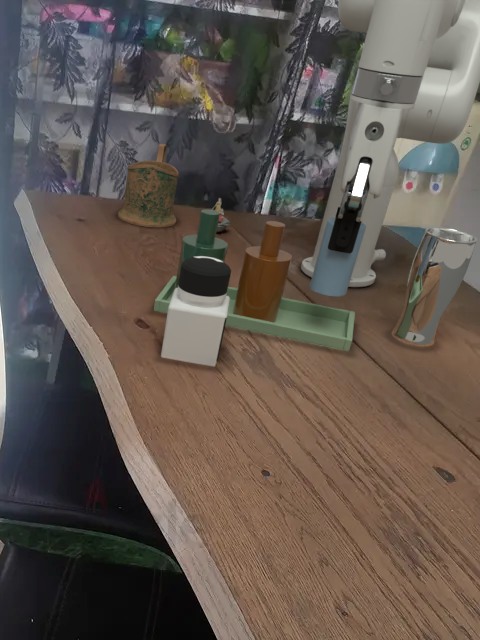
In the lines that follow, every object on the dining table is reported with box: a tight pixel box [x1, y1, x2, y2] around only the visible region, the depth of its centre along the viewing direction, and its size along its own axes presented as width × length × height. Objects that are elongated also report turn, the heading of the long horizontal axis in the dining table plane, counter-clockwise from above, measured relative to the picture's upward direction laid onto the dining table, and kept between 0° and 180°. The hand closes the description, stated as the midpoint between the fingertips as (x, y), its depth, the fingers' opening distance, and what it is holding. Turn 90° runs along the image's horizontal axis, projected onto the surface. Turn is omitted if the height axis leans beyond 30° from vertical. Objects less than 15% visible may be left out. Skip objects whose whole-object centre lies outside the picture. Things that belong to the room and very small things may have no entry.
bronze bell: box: [117, 143, 179, 228], centre depth 144 cm, size 12×18×12 cm, turn 167°
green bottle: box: [175, 208, 229, 289], centre depth 105 cm, size 6×6×13 cm
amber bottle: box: [233, 220, 293, 322], centre depth 103 cm, size 6×6×13 cm
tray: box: [153, 275, 356, 352], centre depth 107 cm, size 28×12×2 cm, turn 72°
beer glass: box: [391, 226, 478, 347], centre depth 102 cm, size 7×7×15 cm
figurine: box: [211, 197, 231, 233], centre depth 140 cm, size 5×4×6 cm
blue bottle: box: [309, 210, 366, 298], centre depth 98 cm, size 5×5×12 cm
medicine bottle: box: [160, 256, 232, 367], centre depth 92 cm, size 7×7×12 cm
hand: (340, 243), depth 98 cm, fingers closed on blue bottle, 5 cm apart
